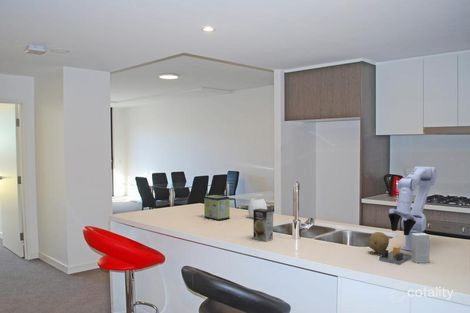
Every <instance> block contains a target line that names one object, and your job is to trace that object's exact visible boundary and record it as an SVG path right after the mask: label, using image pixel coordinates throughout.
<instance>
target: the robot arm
mask: <svg viewBox="0 0 470 313" xmlns="http://www.w3.org/2000/svg"><path fill="white" fill-rule="evenodd" d="M437 174H438V171H437V168H436V166H417V165H416V166H414V168H413V171H411V172H410V173H409V174H407V176H405V177H403V178H401V179H399V180H398V184H397V185H398V189H397V190H398V199H397V204H396V209H395V208H389V211H388V219H389V221H390V228H391V231H392V232H397V230H398V226H399V223H400V219H401V225H400V226H401V228H402V229H403V236H405V237H404V238H405V242H404V243H405V244H404V245H405V246H404V247H402V248H401V250H405V251H410V252H412V243H411V233H424V231H425V230H426V228H427V227H426V226H427V217H426V215H425V214H424V213H423V212H424V208H425V205H426V203H427V202H426V201H427V199H428V195H429V191H430V188H431V187H432V186H434V185H435V183H436V180H437ZM417 186H418V188H417ZM416 189H417V192H416V195H415V197H414V202H413V204H412V200H413V194H414V192H415V191H416ZM411 207H412V208H411Z"/></svg>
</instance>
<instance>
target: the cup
mask: <svg viewBox="0 0 470 313" xmlns="http://www.w3.org/2000/svg"><path fill="white" fill-rule="evenodd" d="M247 205H248V207H247V211H248V212H247V213H248V216H249V217H250V218H251V219H253V210H254V209H260V208H261V209H267V210H268V205H267V202H266V201H265V198H263V197H252V198H251V199H250V201H249V203H248V204H247Z"/></svg>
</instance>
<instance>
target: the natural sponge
mask: <svg viewBox="0 0 470 313" xmlns="http://www.w3.org/2000/svg"><path fill="white" fill-rule="evenodd" d="M389 243H390V238H389V237H388V235H387V234H386V233H384V232H381V231H376V232H373V233H372V234H371V235H370V236H369V238H368V241H367V244H368V247H369V248H370V249H371V250H373V251H374V252H375V253H377V254H379V255H380V254H382V251H383V250H388V248H389V247H388V246H389Z"/></svg>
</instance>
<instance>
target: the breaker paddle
mask: <svg viewBox="0 0 470 313" xmlns="http://www.w3.org/2000/svg"><path fill="white" fill-rule="evenodd" d="M392 251H393V255H395V256H396V254H397V253H401V246H399V245H398V246H397V245H395V246H393V247H392Z"/></svg>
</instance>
